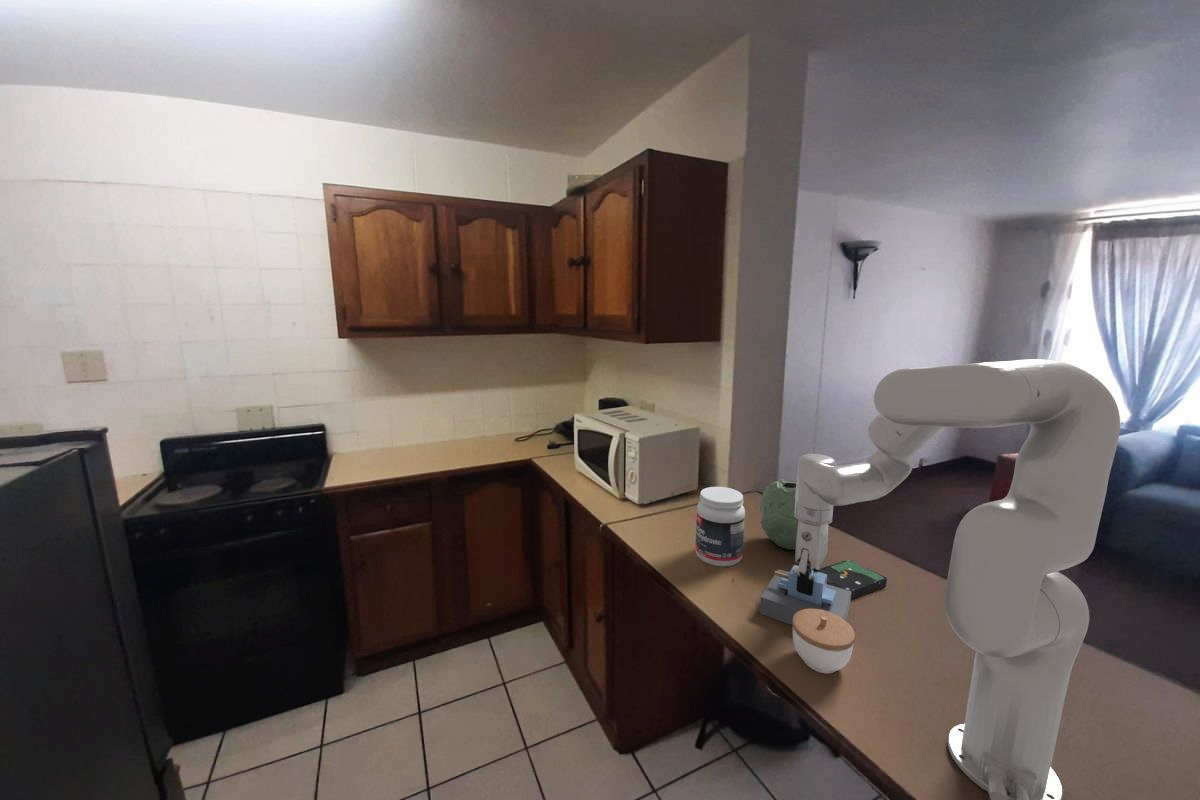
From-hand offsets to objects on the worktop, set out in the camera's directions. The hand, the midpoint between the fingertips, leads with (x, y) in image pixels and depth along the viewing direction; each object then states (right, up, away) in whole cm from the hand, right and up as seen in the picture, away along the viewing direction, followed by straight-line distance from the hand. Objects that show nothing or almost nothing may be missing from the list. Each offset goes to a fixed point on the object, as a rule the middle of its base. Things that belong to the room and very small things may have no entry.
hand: (807, 586), depth 102 cm
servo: (0, -5, +1) cm, 5 cm away
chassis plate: (0, -6, +1) cm, 6 cm away
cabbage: (+8, -1, +30) cm, 31 cm away
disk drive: (+15, -4, +12) cm, 20 cm away
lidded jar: (-4, -9, -14) cm, 17 cm away
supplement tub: (-14, -2, +25) cm, 28 cm away
